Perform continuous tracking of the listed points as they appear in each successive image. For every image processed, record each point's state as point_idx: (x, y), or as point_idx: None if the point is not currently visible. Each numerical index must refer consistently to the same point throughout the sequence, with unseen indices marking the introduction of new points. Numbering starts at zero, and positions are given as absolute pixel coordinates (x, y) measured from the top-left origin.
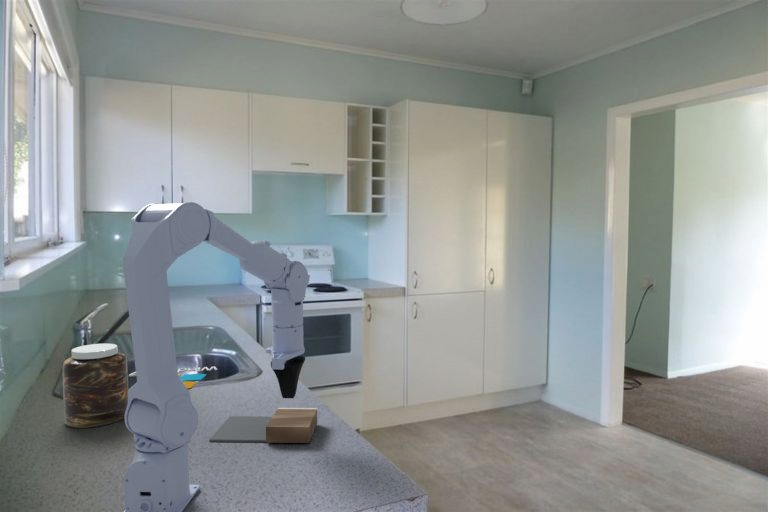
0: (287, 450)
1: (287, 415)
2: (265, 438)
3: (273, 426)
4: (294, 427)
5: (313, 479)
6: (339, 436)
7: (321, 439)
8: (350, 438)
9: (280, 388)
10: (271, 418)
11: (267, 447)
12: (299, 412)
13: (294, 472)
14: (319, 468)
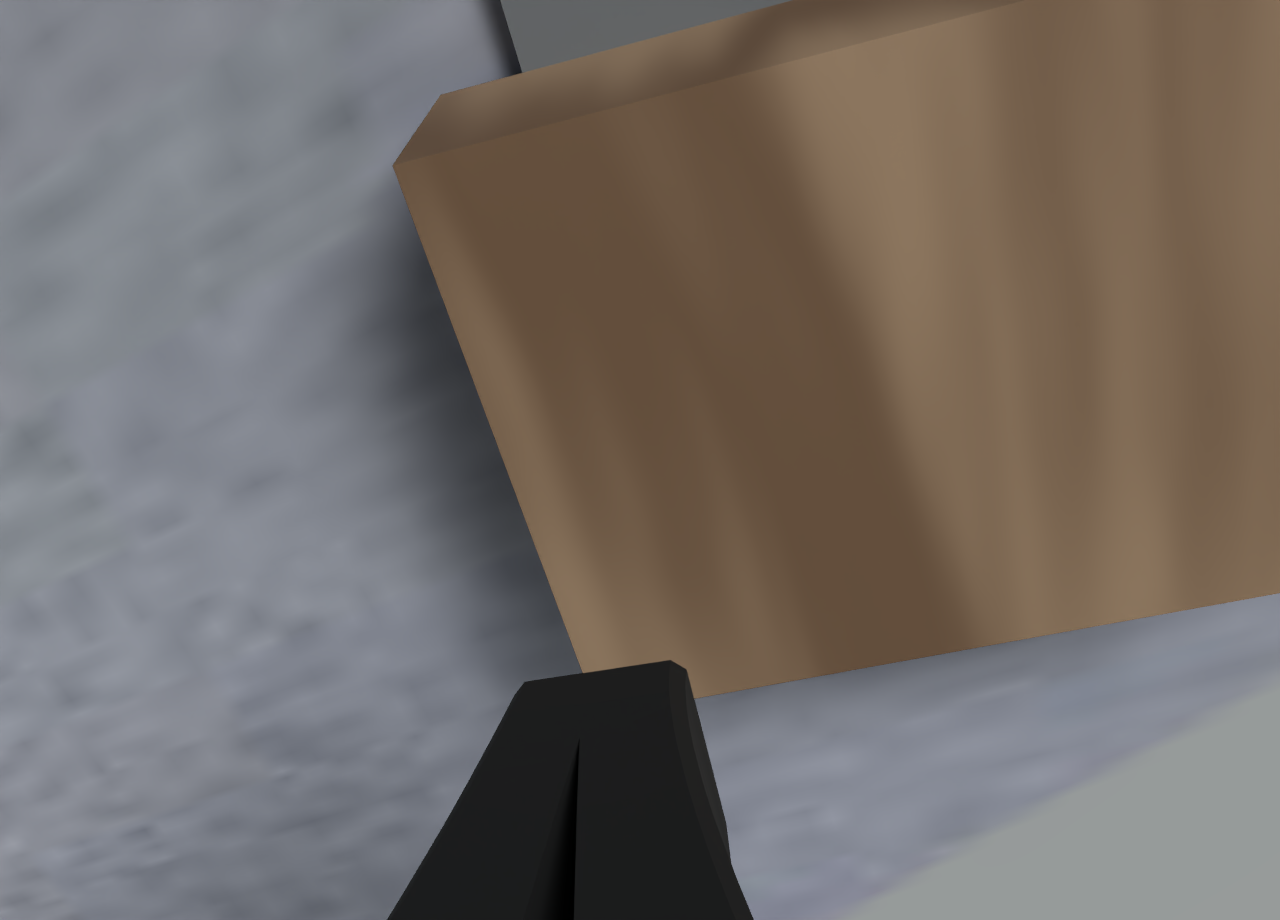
0: (402, 415)
1: (979, 278)
2: (561, 12)
3: (450, 282)
4: (541, 560)
5: (2, 818)
6: (910, 746)
7: None
8: (880, 836)
9: (431, 853)
10: (777, 70)
11: (380, 147)
12: (1144, 404)
13: (13, 661)
14: (191, 799)
